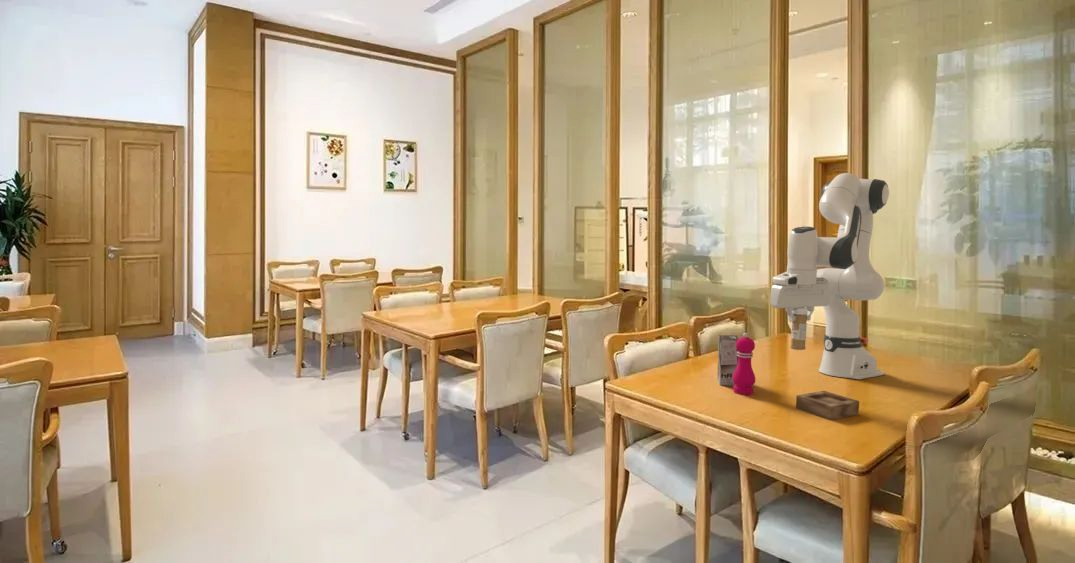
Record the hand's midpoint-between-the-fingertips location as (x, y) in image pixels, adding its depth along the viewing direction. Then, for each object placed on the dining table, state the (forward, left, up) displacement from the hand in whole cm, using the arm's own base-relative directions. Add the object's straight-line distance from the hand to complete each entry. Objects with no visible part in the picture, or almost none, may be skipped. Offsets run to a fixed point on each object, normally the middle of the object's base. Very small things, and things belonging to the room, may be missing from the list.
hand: (799, 320), depth 193 cm
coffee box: (+12, -20, -25) cm, 34 cm away
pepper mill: (+14, -8, -25) cm, 30 cm away
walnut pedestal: (+2, +16, -25) cm, 29 cm away
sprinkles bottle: (0, 0, -9) cm, 9 cm away
